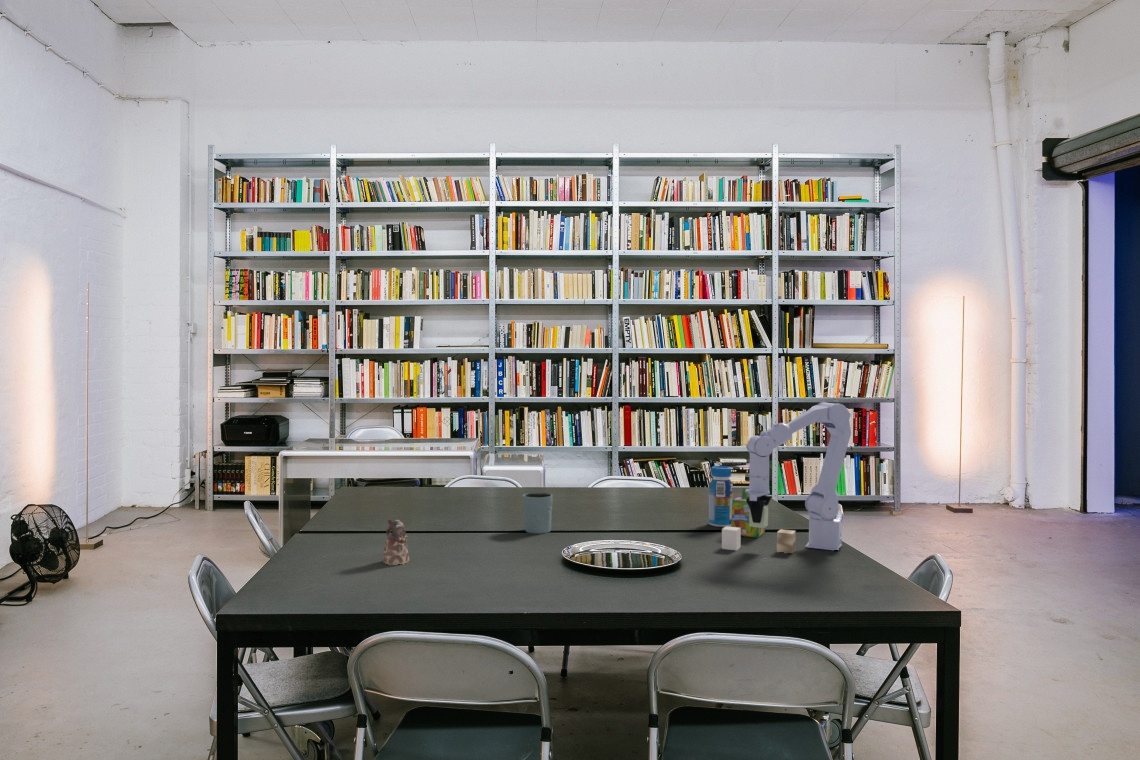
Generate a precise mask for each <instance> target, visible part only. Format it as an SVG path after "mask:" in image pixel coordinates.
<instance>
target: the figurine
mask: <svg viewBox="0 0 1140 760" xmlns="http://www.w3.org/2000/svg"><path fill="white" fill-rule="evenodd" d="M387 523H388V524H389V525H388V526H387V528H386V540H385V544H384V547H383V554H382V561H383V564H384V563H385V564H384V565H386V564H388V565H387V566H399V565H398V564H403V565H405V564H404V563H407V562H408V561H409V562H410V554H409V547H408V539H407V538H409V537H408V536H409V535H407V532H406V530H405V527H404V525H405V524H404V523H403V522H402V521H401V520H400V519H395V520H394V519H391V518H389V519H387ZM409 562H408V563H409ZM408 563H407V564H408Z"/></svg>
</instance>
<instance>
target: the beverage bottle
mask: <svg viewBox="0 0 1140 760" xmlns="http://www.w3.org/2000/svg"><path fill="white" fill-rule="evenodd" d="M710 468H711V469H710V474H711V477H712V479H711V480H710V482H709V485H708V488H709V492H708V524H709V525H710V526H712V527H719V528H724V527H726V526H729V527H731V521H732V500H734V492H733V489H734V485H733V483H732V481H731V479H730V478H731V477H732V468H731V466H728V465H727V466H726V465H715V466H714V465H713V466H712V467H710Z"/></svg>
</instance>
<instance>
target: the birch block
mask: <svg viewBox="0 0 1140 760" xmlns="http://www.w3.org/2000/svg"><path fill="white" fill-rule="evenodd" d="M796 532H797V531H796V530H792V529H791V530H790V529H782V528H781V529H779V530H778V531H777V532H776V553H779V552H784V553H783V554H787V553H793V552H794V551H795V552H796V540H797V539H796V534H797V533H796ZM795 552H794V553H795ZM794 553H793V554H794Z"/></svg>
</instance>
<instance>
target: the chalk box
mask: <svg viewBox="0 0 1140 760" xmlns="http://www.w3.org/2000/svg"><path fill="white" fill-rule="evenodd" d="M746 489H749V488H747V487H746V488H745V487H744V488H742V492H741V493H742V494H741V495H740V496H738V497H735V498H733V500H732V521H731V526H730V527H738V528H741V537H747V538H748V537H749V538H755V539H759V538H760V537H761V536H762V535H764V534H765V531H766V527H765V528H759V527H750V526H749V511H750V508H749V506H748V504H747V502H746V499H747V498H750V495H747V493H748V492H745V490H746Z"/></svg>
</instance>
